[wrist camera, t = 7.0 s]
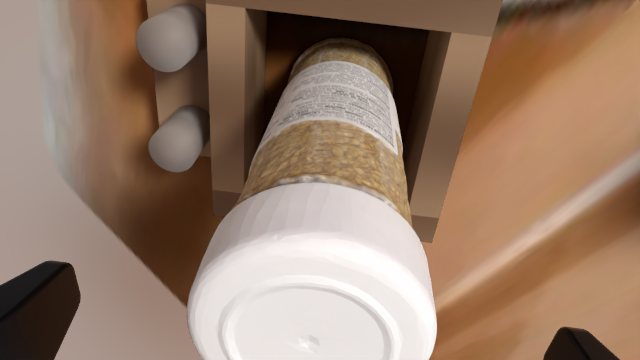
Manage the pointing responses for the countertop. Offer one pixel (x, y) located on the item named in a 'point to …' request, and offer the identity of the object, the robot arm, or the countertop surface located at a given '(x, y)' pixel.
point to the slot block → (249, 85)
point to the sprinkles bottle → (320, 229)
